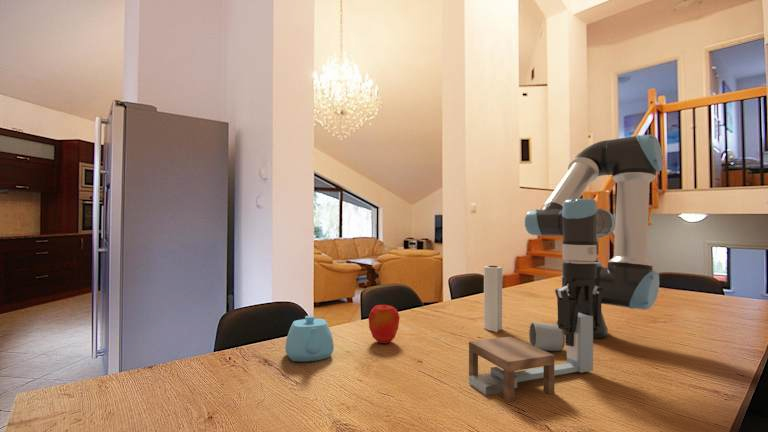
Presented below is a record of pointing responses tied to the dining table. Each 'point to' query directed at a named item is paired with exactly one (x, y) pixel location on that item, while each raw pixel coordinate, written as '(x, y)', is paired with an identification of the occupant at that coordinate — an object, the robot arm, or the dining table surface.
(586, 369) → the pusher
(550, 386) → the walnut table
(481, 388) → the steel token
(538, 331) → the ceramic mug
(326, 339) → the teapot
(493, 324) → the paper towel roll
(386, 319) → the apple
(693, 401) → the dining table surface
